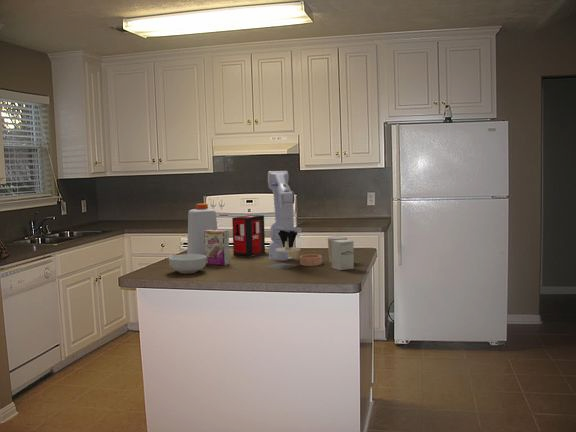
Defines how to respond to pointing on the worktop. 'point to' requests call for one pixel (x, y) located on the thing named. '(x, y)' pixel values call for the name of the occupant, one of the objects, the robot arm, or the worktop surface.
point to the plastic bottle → (199, 227)
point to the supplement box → (342, 254)
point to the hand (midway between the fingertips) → (288, 247)
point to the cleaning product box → (248, 235)
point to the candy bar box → (216, 247)
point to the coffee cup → (331, 244)
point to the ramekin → (310, 260)
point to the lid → (287, 248)
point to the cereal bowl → (187, 263)
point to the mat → (281, 265)
